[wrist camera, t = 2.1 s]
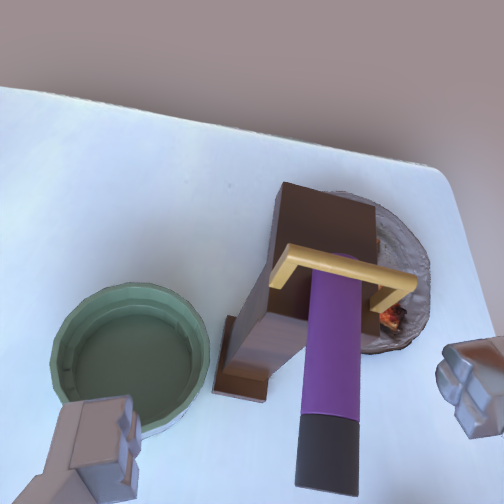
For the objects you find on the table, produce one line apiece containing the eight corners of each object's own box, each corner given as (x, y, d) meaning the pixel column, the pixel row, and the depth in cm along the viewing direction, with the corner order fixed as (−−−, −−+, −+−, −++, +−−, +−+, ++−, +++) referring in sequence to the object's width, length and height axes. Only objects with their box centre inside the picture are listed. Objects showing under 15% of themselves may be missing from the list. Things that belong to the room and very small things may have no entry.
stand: (267, 408, 45) (421, 314, 20) (205, 396, 44) (285, 281, 19) (276, 326, 50) (407, 169, 25) (221, 314, 49) (300, 139, 24)
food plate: (420, 380, 51) (437, 374, 48) (252, 323, 50) (258, 313, 47) (423, 230, 65) (436, 218, 62) (290, 182, 63) (297, 167, 60)
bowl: (52, 325, 44) (39, 303, 39) (180, 292, 50) (184, 268, 44) (76, 465, 38) (65, 462, 33) (219, 410, 44) (230, 399, 38)
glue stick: (342, 494, 19) (370, 499, 16) (286, 484, 19) (306, 488, 16) (349, 279, 24) (371, 260, 22) (306, 268, 24) (323, 248, 22)
